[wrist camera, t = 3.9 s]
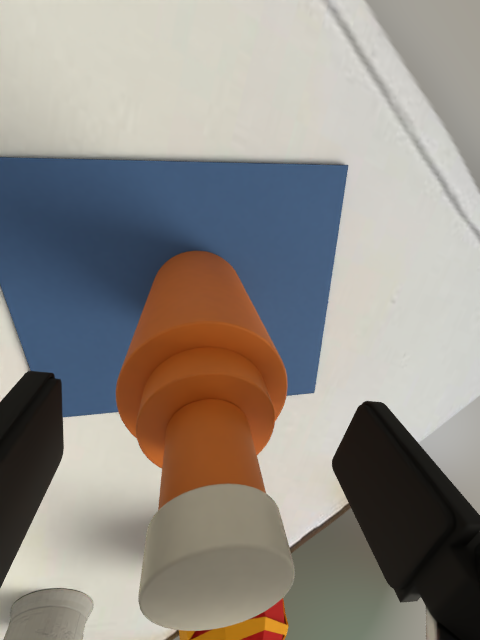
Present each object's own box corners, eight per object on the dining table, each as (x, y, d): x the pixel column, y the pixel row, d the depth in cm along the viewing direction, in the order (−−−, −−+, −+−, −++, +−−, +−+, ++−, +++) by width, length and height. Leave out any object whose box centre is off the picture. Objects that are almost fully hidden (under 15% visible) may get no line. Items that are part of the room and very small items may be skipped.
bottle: (148, 328, 21) (44, 685, 6) (157, 241, 18) (24, 481, 4) (231, 338, 22) (315, 647, 7) (250, 259, 20) (428, 483, 5)
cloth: (49, 416, 23) (47, 418, 23) (-42, 156, 15) (-46, 156, 15) (313, 390, 26) (314, 393, 26) (346, 165, 19) (348, 165, 18)
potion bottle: (210, 505, 31) (226, 754, 17) (285, 524, 34) (346, 743, 21) (163, 560, 34) (145, 811, 20) (236, 573, 37) (263, 792, 24)
